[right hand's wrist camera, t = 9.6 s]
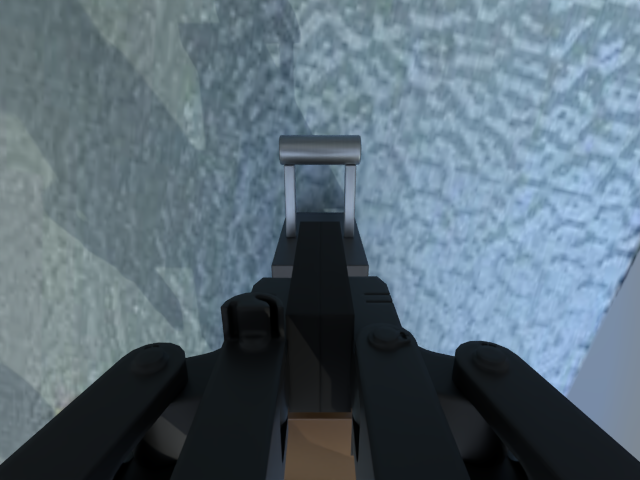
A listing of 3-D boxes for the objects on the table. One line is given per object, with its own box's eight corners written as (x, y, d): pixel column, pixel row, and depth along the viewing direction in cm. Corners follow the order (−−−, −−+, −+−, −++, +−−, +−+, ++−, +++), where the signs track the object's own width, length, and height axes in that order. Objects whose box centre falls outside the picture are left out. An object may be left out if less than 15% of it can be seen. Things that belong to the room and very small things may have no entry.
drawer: (284, 128, 26) (265, 143, 17) (356, 128, 26) (375, 143, 17) (292, 374, 33) (281, 475, 24) (348, 374, 33) (358, 475, 24)
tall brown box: (284, 312, 32) (266, 418, 21) (356, 312, 32) (374, 418, 21) (289, 451, 38) (277, 590, 27) (350, 451, 38) (362, 590, 27)
